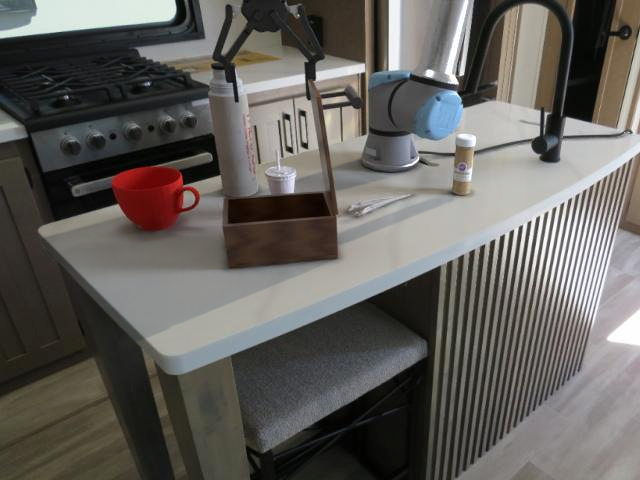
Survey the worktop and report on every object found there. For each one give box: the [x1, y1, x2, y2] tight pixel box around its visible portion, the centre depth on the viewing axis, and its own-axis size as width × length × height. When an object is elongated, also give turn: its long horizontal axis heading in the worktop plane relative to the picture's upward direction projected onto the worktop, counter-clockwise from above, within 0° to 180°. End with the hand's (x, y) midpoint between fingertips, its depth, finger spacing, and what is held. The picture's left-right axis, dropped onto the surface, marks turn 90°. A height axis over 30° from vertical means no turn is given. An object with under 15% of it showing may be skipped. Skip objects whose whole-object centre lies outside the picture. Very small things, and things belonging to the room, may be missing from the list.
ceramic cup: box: [110, 166, 201, 232], centre depth 113 cm, size 13×17×10 cm
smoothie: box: [264, 148, 297, 195], centre depth 118 cm, size 6×6×14 cm
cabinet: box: [221, 190, 339, 269], centre depth 106 cm, size 20×13×8 cm, turn 104°
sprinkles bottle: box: [451, 133, 477, 196], centre depth 131 cm, size 5×5×13 cm
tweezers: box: [346, 193, 412, 218], centre depth 127 cm, size 18×5×2 cm, turn 132°
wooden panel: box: [308, 79, 364, 216], centre depth 101 cm, size 21×13×8 cm
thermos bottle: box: [207, 61, 259, 197], centre depth 124 cm, size 8×8×28 cm
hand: (273, 100), depth 108 cm, fingers open, 13 cm apart
